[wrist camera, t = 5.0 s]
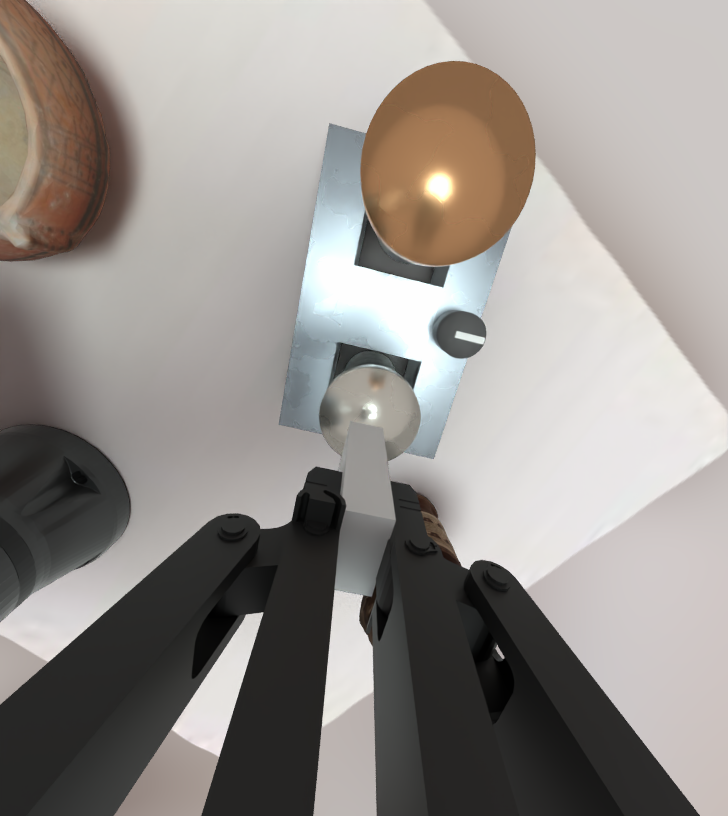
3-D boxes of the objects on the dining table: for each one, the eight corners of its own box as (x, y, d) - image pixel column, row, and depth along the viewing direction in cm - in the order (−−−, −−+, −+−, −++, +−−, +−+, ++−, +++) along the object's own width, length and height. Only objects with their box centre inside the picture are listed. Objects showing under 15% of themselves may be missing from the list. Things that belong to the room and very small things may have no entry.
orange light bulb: (355, 263, 22) (344, 242, 12) (377, 158, 20) (384, 36, 10) (443, 285, 22) (498, 282, 13) (472, 184, 20) (564, 90, 11)
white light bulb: (329, 400, 30) (310, 452, 21) (343, 335, 28) (330, 357, 19) (393, 415, 31) (405, 473, 21) (412, 351, 29) (433, 382, 19)
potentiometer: (427, 346, 24) (434, 353, 21) (439, 305, 23) (448, 307, 20) (466, 356, 24) (478, 363, 21) (480, 315, 23) (494, 318, 21)
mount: (295, 400, 31) (278, 424, 26) (338, 160, 26) (329, 123, 20) (422, 429, 32) (433, 458, 27) (493, 202, 26) (528, 178, 21)
